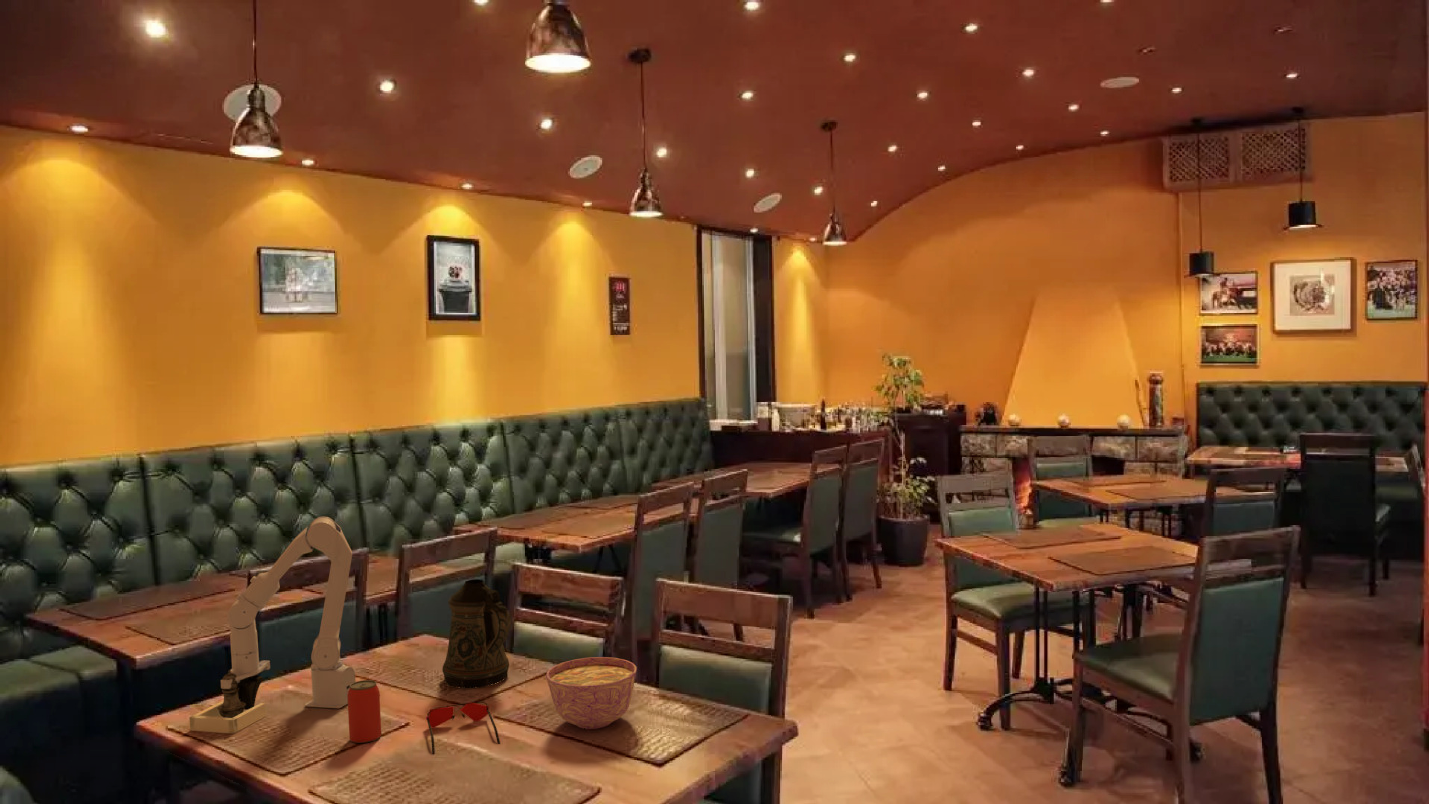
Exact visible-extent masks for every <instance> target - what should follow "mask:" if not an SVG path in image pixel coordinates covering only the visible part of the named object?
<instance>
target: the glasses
mask: <svg viewBox="0 0 1429 804" xmlns="http://www.w3.org/2000/svg"><path fill="white" fill-rule="evenodd" d="M480 703H481V704H480ZM461 705H462V707H461V708H460V709H459V711H460V712H462V713H461V716H462V718H463V719H464V720H465V719H466V718H465V717H468V718H469V719H471V720H472V721H473V722H480V721H481V720H483V719H484V718H485V717H487V715H488V717H489V719H490V721H491V724H492V727H493V730H494V734H495V740H496V742H497V744H498V745H501V740H500V736H499V733H498V732H499V731H498V729H497V725H496V723H495V721H494V719H493V716H492V714H491V712H490V707H489V706H488V703H486V702H485V701H472V702H471V701H468V702H465V703H459V704H452V705H444V706H440V707H439V706H438V707H434V708H430V709H429V711H428V713H427V716H426V717H425V719H426V722H427V726H428V730H429V734H430V735H429V736H430V741H431V754H432V755H435V754H436V750H435V738H434V733H433V730H432V729H435V728H436V727H438V726H440V725H442V724H444V723H446V722H448V721H450V720H451V721H454V719H455V716H456V714H454V708H455V707H457V706H461Z"/></svg>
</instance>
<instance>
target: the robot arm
mask: <svg viewBox="0 0 1429 804" xmlns="http://www.w3.org/2000/svg"><path fill="white" fill-rule="evenodd" d="M314 548H315V549H316V550H318V551H320V552H322V553H323V554H324V555H325V556H326V557H327V558H328V560H329V561H330V563H331V564H330V568H329V576H328V580H327V581H328V582H327V587H326V592H325V598H324V605H323V610H322V615H321V616H322V617H321V623H320V628H319V634H318V635H317V637H316V638H315V639H314V642H313V643H312V644H313V645H312V652H311V654H310V655H311V656H310V659H311V662H312V663H311V664H310V673H311V691H312V692H311V694H312V699H311V700H309V701H308V702H307V703H305V704H304V707H311V708H324V709H325V708H326V709H327V708H329V709H340V708H342V707H344V706H346V705H348V698H347V697H348V691H349V689H350V688H349V686H350V685H351V684H352V683H354V682H357V680H356V672H355V669H354V668H353V667H352V666H348V665H345V663H344V660H343V659H342V658H341V652H340V651H341V646H342V642H341V639H340V637H339V635H340V632H341V630H340V629H341V624H342V617H343V612H344V606H345V600H346V594H347V588H348V583H349V575H350V571H351V564H352V560H353V559H352V558H353V551H352V549H351V546H350V545H349V542H348V541H347V539H346V537H345V534H344V533H343V530H342V527H341V526H340V525H338V523H337V522H335V520H333V519H332V518H331V517H328V516H319V517H317V518H315V519H313V520H312V521H311V522H310V524H309V526H306V527H305V528H304V529H303V530H302V531H301V532H300V533H299V534H298V535H297V536H295V538H294V539H293V540H292V541H291V543H290V544H289V545H288V546H287V548H286V549H285V550H284V551H283V553H282V554H281V555H280V556H279V557H278V559H277V560H276V561H275V562H274V564H273V565H272V567H271V568H269V570H268V571H266V572H259V573H258V574H257V576H256V575H254V576H252V578H251V579H250V580H249V582H250V584H249V585H248V586H247V588H246V589H245V590H244V591H243V592H242V594H241V593H239V594H238V595H237V596H236V599H237V600H236V601H234V602H233V603H232V605H231V607H230V609H229V610H228V612H227V621H228V623H229V624H230V626H229V630H230V634H229V637H230V638H229V639H230V654H231V669H230V670H231V673H233V674H235V675H236V676H237V677H236V681H237V687H239V690H238V697H239V700H240V701H241V702H245V703H246V705H245V706H244V711H247V710H249V709H250V708H252V707H254V706H255V703H256V699H257V695H258V691H259V688H260V686H261V683H262V682H263V680H264V678H263V676H262V675H258V674H260V673H262V672H263V671H268V670H270V669H271V662H270V660H260V657H259V642H258V630H257V624H256V617H257V614H258V612H259V611H262V610H263V608H264V607H266V605H267V604H268V603H269V602H270V600H271V599H272V598H273V597H274V596H275V594H276V593H277V592H278V591H279V590H280V588H281V587H280V579H281V578H282V577H283V576H284V575H285V574H286V572H288V570H289V569H290V568H292V566H293V565H294V564H295V563H296V561H297V560H299V558H300V557H301V556H302V555H305V554H308V553H312V552H313V550H314ZM231 683H232V679H230V680H224V679H223V678H222V679H220V688H221V689H222V690H223V689H229V688H231Z"/></svg>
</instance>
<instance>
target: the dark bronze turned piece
mask: <svg viewBox="0 0 1429 804" xmlns="http://www.w3.org/2000/svg"><path fill="white" fill-rule="evenodd" d="M227 672H228V673H227V674H225V675H223V677H222V679H224V680H230V679H232V683H231V688H229V689H223V688H222V690H221V692H222V693H223V701H224V702H223V704H222V705H220V706H219V707H218V710H219V713H220V715H221V716H222V717H223V718H233V717H235V716H237V715H239V714H241V713H243V712H245V710H244V706H245V705H246V703H245V702H241V701H240V700H239V697H238V690H239V687H237V681H236V677H237V676H236V675H235V674H233V673H231V669H228V671H227Z"/></svg>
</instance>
